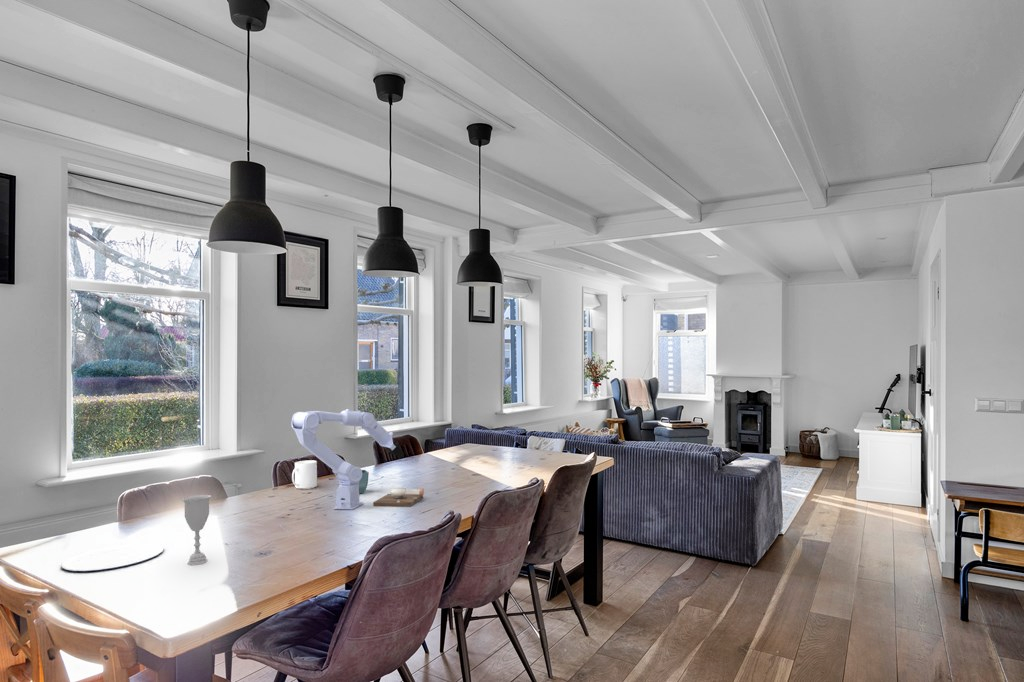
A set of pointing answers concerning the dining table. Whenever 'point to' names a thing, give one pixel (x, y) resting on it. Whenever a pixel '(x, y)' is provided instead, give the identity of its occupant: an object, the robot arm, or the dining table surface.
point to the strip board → (398, 500)
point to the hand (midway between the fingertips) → (398, 452)
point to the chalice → (197, 522)
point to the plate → (155, 552)
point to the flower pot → (363, 481)
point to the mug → (305, 474)
